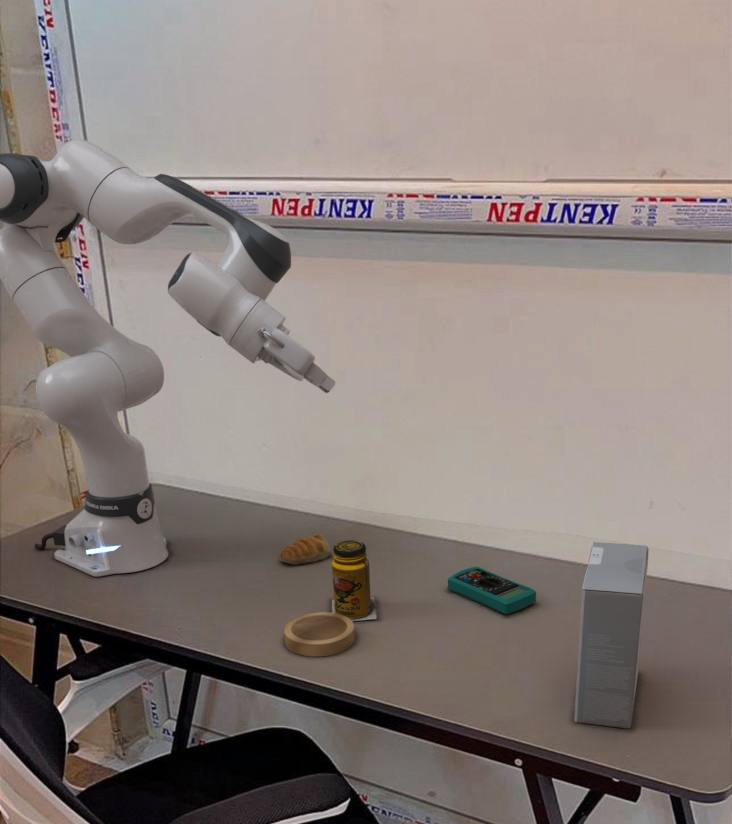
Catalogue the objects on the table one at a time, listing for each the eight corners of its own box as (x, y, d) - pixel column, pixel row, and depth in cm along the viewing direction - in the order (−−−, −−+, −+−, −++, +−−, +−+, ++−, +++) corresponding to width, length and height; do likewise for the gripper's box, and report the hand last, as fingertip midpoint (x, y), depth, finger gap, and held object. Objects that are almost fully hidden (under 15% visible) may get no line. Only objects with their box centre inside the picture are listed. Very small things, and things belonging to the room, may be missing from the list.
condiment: (331, 622, 158) (327, 554, 152) (331, 600, 165) (328, 534, 160) (376, 620, 158) (374, 552, 152) (374, 598, 165) (372, 532, 160)
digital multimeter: (474, 577, 171) (475, 562, 170) (538, 604, 161) (538, 588, 160) (444, 590, 168) (444, 574, 166) (507, 617, 157) (507, 601, 156)
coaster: (270, 646, 151) (269, 634, 150) (311, 618, 159) (310, 606, 158) (329, 663, 146) (328, 650, 145) (367, 633, 154) (367, 620, 153)
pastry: (293, 570, 177) (291, 551, 176) (272, 560, 182) (270, 541, 180) (334, 556, 182) (333, 537, 181) (313, 547, 187) (311, 528, 186)
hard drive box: (584, 667, 142) (593, 540, 133) (638, 673, 140) (651, 544, 131) (572, 723, 128) (581, 586, 120) (632, 730, 126) (645, 592, 117)
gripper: (271, 309, 142) (347, 368, 144) (274, 324, 162) (340, 375, 164) (246, 345, 143) (321, 402, 145) (252, 355, 163) (318, 406, 165)
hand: (331, 388), depth 155 cm, fingers open, 8 cm apart
